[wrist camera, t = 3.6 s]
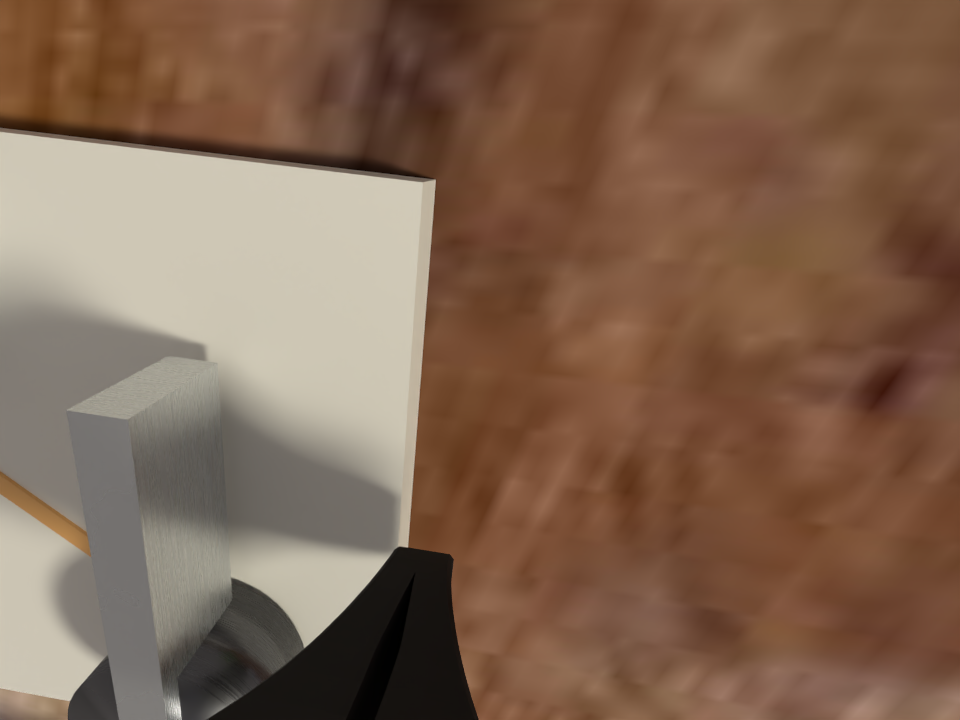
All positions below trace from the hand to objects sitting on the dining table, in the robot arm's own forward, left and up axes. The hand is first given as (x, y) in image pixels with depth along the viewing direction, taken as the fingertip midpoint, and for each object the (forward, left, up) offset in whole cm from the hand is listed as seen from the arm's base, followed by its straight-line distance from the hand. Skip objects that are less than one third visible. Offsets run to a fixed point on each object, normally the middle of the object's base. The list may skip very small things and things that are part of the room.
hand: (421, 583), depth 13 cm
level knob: (-2, +6, -2) cm, 6 cm away
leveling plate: (0, +10, -3) cm, 10 cm away
